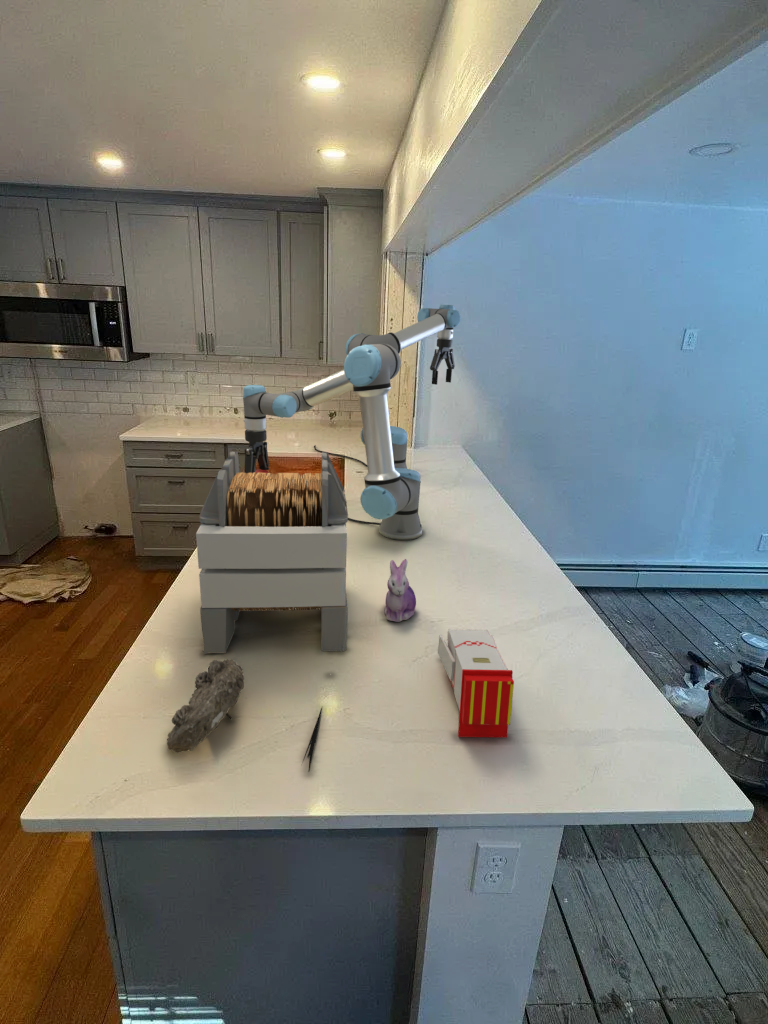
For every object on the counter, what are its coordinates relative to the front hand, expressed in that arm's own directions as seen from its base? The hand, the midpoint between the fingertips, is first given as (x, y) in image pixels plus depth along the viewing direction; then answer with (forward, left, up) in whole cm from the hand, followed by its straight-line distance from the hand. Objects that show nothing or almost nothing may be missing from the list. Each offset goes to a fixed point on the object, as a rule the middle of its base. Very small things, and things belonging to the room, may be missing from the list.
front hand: (257, 490), depth 209 cm
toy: (+119, -16, -9) cm, 120 cm away
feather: (+107, -46, -9) cm, 116 cm away
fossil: (+94, -62, -9) cm, 112 cm away
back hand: (-18, +113, +31) cm, 118 cm away
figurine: (+86, -7, -9) cm, 87 cm away
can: (0, 0, -6) cm, 6 cm away
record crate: (+69, -32, -9) cm, 77 cm away
